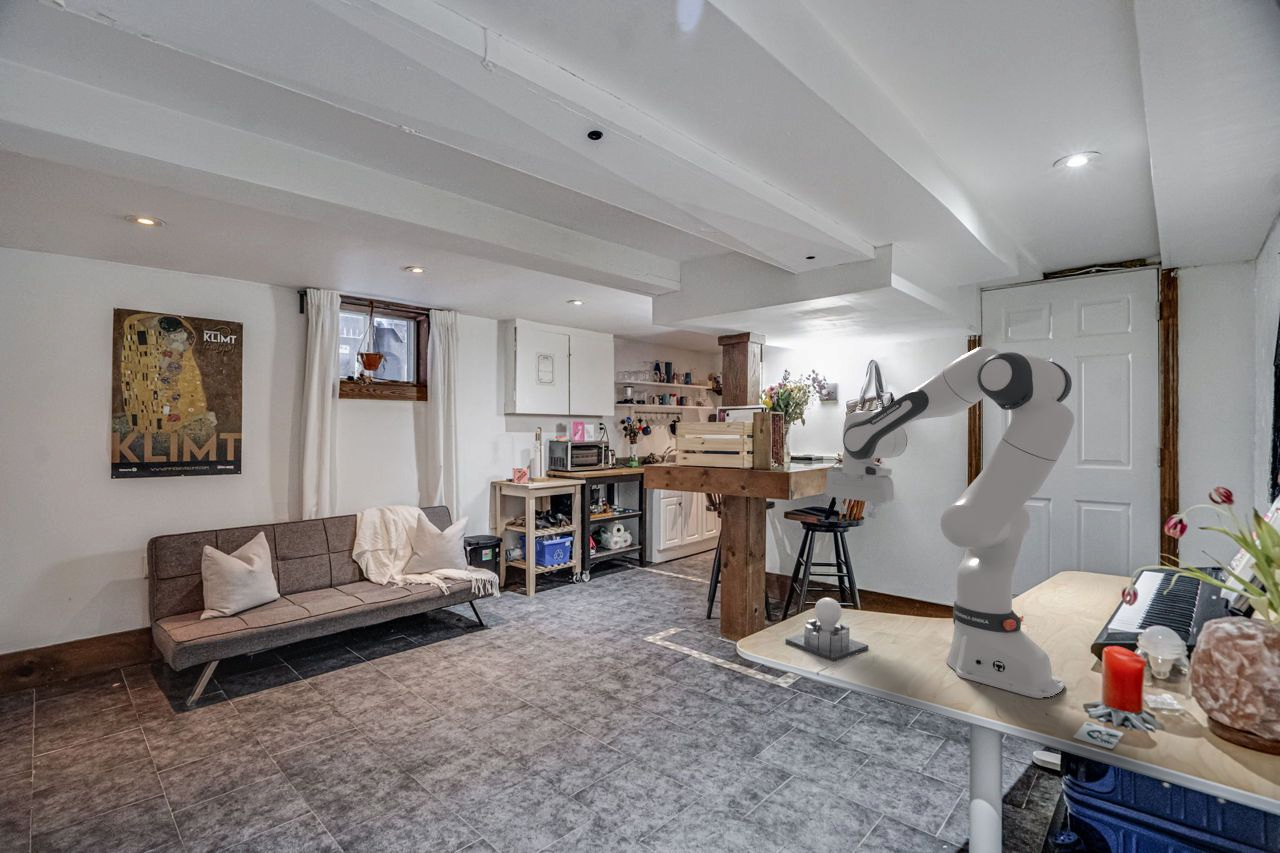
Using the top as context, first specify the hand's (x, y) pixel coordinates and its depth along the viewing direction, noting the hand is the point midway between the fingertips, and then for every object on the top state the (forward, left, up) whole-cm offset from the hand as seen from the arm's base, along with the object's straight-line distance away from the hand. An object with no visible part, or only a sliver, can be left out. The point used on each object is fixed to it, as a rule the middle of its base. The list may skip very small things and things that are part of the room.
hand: (857, 515), depth 171 cm
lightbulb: (-10, +27, -28) cm, 40 cm away
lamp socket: (-10, +27, -29) cm, 41 cm away
